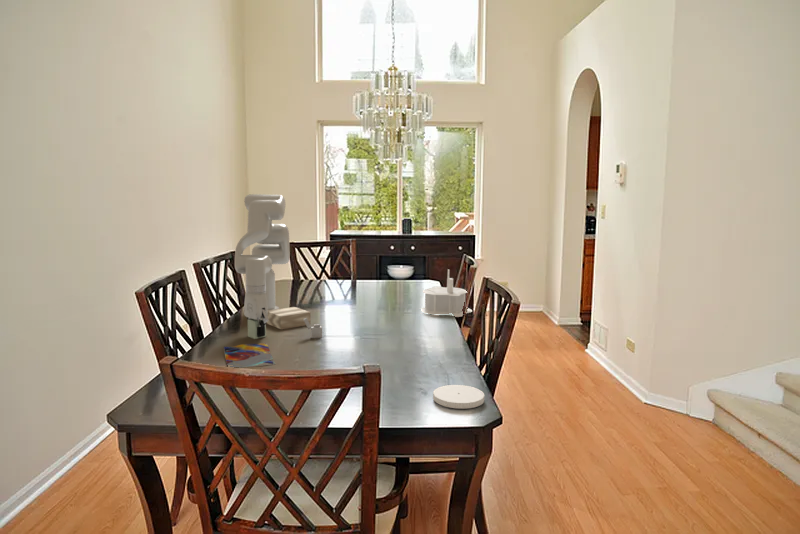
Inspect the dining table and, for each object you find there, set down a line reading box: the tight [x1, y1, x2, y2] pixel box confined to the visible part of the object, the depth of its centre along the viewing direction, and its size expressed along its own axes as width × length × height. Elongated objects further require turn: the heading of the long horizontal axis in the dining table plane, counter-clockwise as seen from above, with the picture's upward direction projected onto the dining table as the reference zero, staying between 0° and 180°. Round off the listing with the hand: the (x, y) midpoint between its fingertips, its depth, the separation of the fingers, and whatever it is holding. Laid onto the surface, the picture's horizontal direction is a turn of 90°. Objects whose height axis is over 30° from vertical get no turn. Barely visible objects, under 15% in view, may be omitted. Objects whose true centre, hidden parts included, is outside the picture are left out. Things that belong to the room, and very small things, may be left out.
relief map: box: [223, 342, 276, 369], centre depth 193 cm, size 25×15×2 cm, turn 20°
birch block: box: [266, 306, 312, 330], centre depth 239 cm, size 14×14×6 cm
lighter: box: [303, 318, 323, 339], centre depth 217 cm, size 7×2×8 cm, turn 104°
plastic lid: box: [432, 384, 485, 410], centre depth 153 cm, size 14×14×2 cm
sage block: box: [247, 319, 267, 340], centre depth 217 cm, size 5×5×7 cm
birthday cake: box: [420, 268, 473, 318], centre depth 267 cm, size 30×29×22 cm
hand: (257, 334), depth 218 cm, fingers closed on sage block, 5 cm apart
